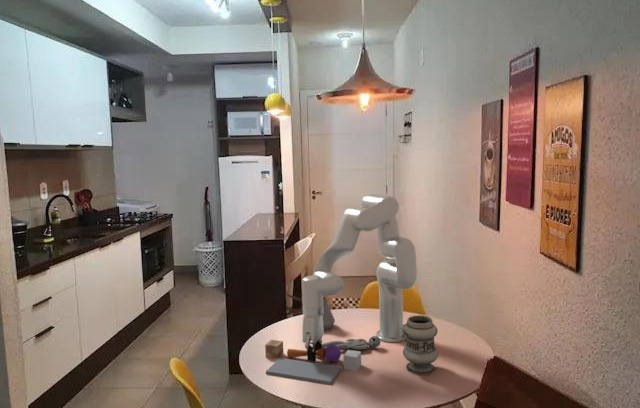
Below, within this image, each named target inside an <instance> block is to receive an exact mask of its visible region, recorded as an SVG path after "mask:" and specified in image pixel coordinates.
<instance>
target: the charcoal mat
mask: <svg viewBox="0 0 640 408" xmlns="http://www.w3.org/2000/svg"><path fill="white" fill-rule="evenodd" d="M341 371H342V367H341V366H337V365H330V364H323V363H317V362H316V363H315V362H311V361H301V360H297V359H296V360H295V359H291V358H283V357H282V358H281V357H279V358H278V359H276V361H275V362H274V363H273V364H272V365H271V366H270V367H268V368H267V370H265V375H270V376H271V375H272V376H276V377H277V376H278V377H284V378H287V379H288V378H289V379H296V380H301V381H308V382H313V383H319V384H324V385H325V384H326V385H332V384H333V382H334V380H335V379H336V377H338V375H339V374H340V372H341Z"/></svg>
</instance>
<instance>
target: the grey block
mask: <svg viewBox="0 0 640 408" xmlns="http://www.w3.org/2000/svg"><path fill="white" fill-rule="evenodd" d="M342 360H343V370H350V371H357V372H358V371H359V369H360V367H361V366H362V352H361V351H359V350H353V349H346V352H345V353H344V354H343V359H342Z"/></svg>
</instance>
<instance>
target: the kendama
mask: <svg viewBox="0 0 640 408" xmlns="http://www.w3.org/2000/svg"><path fill="white" fill-rule="evenodd" d="M341 355H342V351H341V349H340V348H339V347H338V346H336V345H329V346H327V348H326V349H325V348H324V347H323V348H321V349H319V350H317V351H316V357H318V358H320V359H322V360H325V359H326V360H327V361H329V362H330V363H331V362H333V363H334V362H337V361H338V360H339V359H340V358H341ZM286 356H287V359H292V358H300V357H307V350H302V349H295V348H294V349H293V348H288V349H287V351H286Z"/></svg>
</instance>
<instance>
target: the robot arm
mask: <svg viewBox="0 0 640 408" xmlns="http://www.w3.org/2000/svg"><path fill="white" fill-rule="evenodd" d="M399 210H400V204H399V201H398V200H397V199H396V198H395V197H393V196H391V195H385V194H384V195H381V194H366V195H365V196H363V197H362V198H361V207H355V206H353V207H348V208H346V209H345V210H344V212H343V213H342V217H341V219H340V222H339V225H338V228H337V230H336V233H335V235H334V238H333V240H332V243H331V244H330V245H329V246H328V247H327V248H326V249H325V250H324V251H323V252H322V253H321V254H320V256H319V258H318V259H317V261H316V264H315V266H314V269H313V272H312V275H307V276H304V277H303V278H302V280H301V294H302V296H301V299H302V301H303V302H302V316H303V317H302V342H303V344H304V348H305V349H306V351H307V356H306V357H307V359H306V360H307V362H311V363H315V362H317V356H316V351H317V350H319V349H321V348H322V344H323V335H324V331H325V330H324V325H323V314H324V313H323V297H325V296H335V295H339V294H340V293H341V292H343V290H344V288H345V281H344V278H343V277H341V276H340V275H338V274H337V273H333V272H332V269H333V267H334V265H335V264H336V262H337V261H339V259H342V258H343V257H345V256H347V255H350V254H351V253H353V252H354V251H355V248H356V245H357V242H358V240H359V237H360V235H361V232H365V233H367V232H372V231H373V230H375V229H376V232H377V233H376V234H377V245H378V246H377V248H378V252H379V255H380V256H381V257H383V258H385V259H387V260H382V261H381V262H380V263H379V264H378V265H377V267H376V270H375V271H376V280H377V285H378V295H379V296H378V297H379V298H378V303H379V308H378V309H379V312H378V313H379V329H378V330H377V331H376V332H375V336H377V337H379V338H380V341H381V342H385V343H398V342H402V341H404V340H405V341H406V335H405V334H404V333H403V326H404V325H405V324H404V297H403V296H404V294H403V290H410V289H411V288H413V287H414V286H415V284H416V281H417V276H418V272H417V270H418V269H417V254H416V253H417V252H416V247H415V245H414V243H413V241H412V240H410V239H409V238H407V237H403V236H400V231H399V225H398V224H399V223H398V219H397V217H396V215H397V214H398V213H399Z"/></svg>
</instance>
